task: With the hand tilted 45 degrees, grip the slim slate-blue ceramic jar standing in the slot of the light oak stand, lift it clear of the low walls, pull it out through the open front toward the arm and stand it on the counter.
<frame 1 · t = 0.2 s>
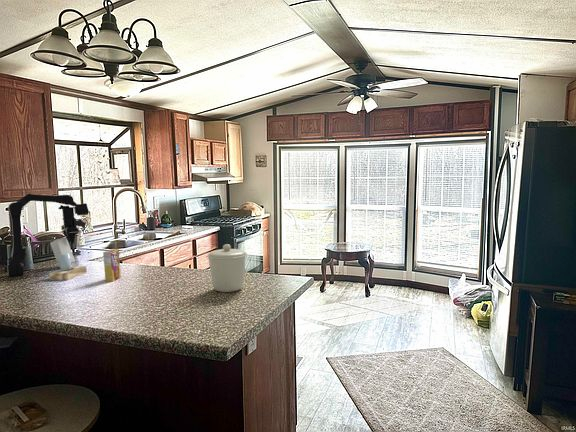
hand: (71, 242, 233), 15 cm above the countertop, tool pointing down, fingers open, 9 cm apart
skincare box: (66, 265, 237), point 1 cm above the countertop
slate jar: (65, 265, 214), in the oak stand
oak stand: (66, 276, 215), on the countertop
canister: (228, 289, 185), on the countertop
candy box: (113, 279, 206), on the countertop
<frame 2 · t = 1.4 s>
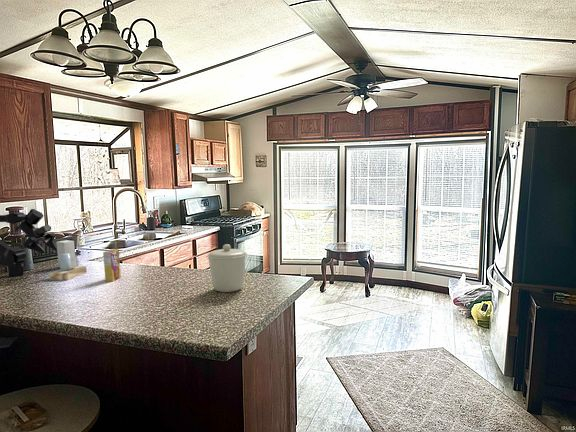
hand: (50, 251, 215), 13 cm above the countertop, tool tilted 45°, fingers open, 9 cm apart
skincare box: (67, 267, 237), on the countertop
everything else where it was.
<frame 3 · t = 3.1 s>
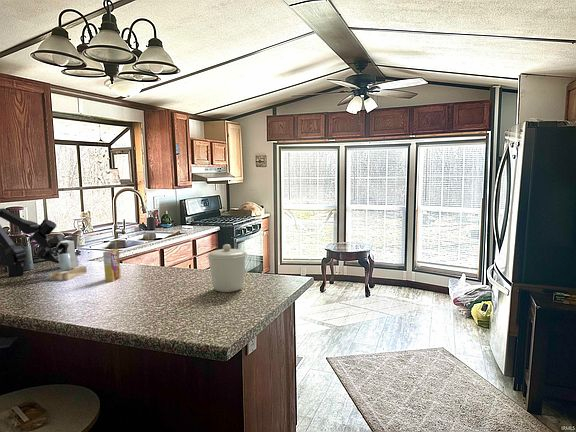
hand: (64, 261, 214), 8 cm above the countertop, tool tilted 45°, fingers open, 9 cm apart
nothing on the countertop moved.
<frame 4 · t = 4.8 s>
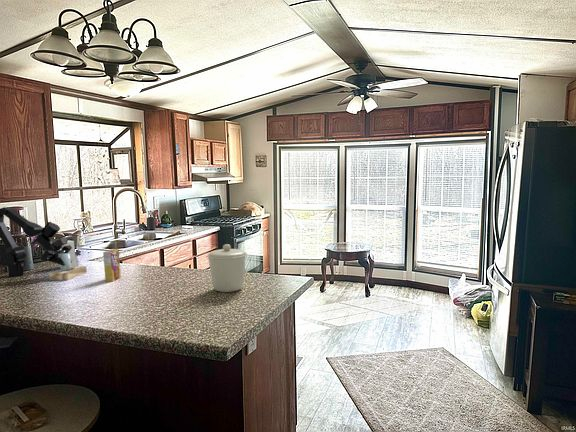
hand: (67, 264, 214), 7 cm above the countertop, tool tilted 45°, fingers closed on slate jar, 5 cm apart
slate jar: (65, 265, 214), in the oak stand, touching gripper
everything else where it was.
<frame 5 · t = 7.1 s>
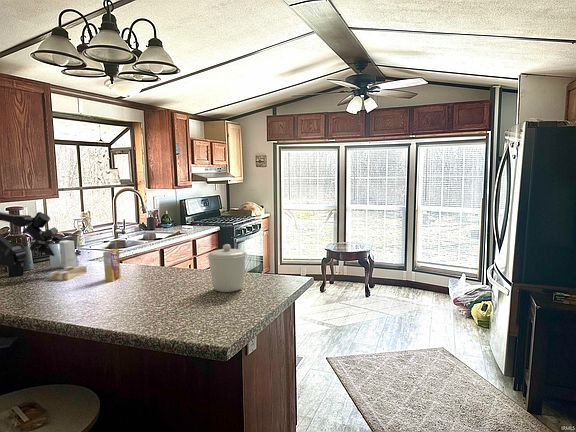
hand: (57, 254, 214), 12 cm above the countertop, tool tilted 45°, fingers closed on slate jar, 5 cm apart
slate jar: (55, 255, 214), point 11 cm above the countertop, touching gripper
everything else where it was.
when the fingers open (8 cm above the countertop, at t = 9.4 s): slate jar drops 1 cm, on the countertop.
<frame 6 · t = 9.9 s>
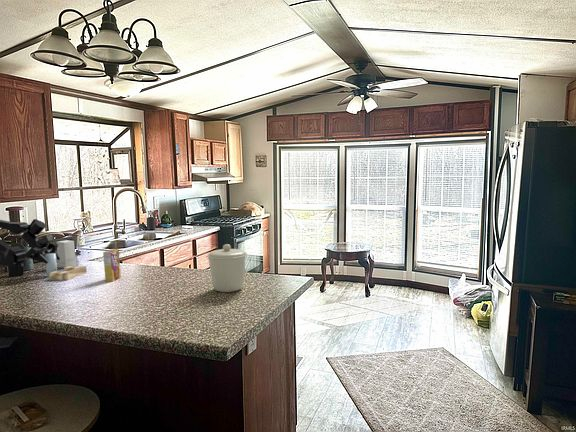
hand: (53, 261, 215), 8 cm above the countertop, tool tilted 45°, fingers open, 9 cm apart
slate jar: (51, 265, 215), on the countertop
everything else where it was.
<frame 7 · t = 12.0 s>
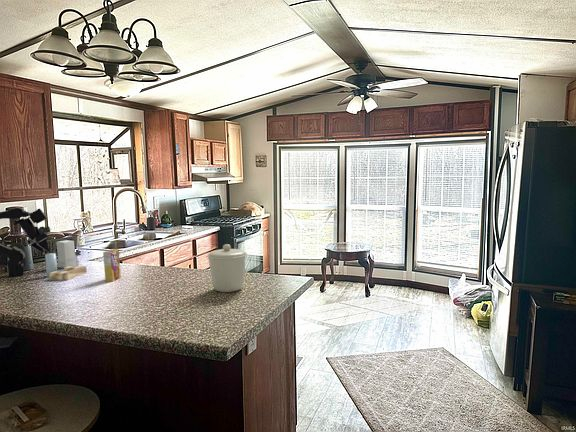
hand: (45, 251, 223), 12 cm above the countertop, tool tilted 25°, fingers open, 9 cm apart
nothing on the countertop moved.
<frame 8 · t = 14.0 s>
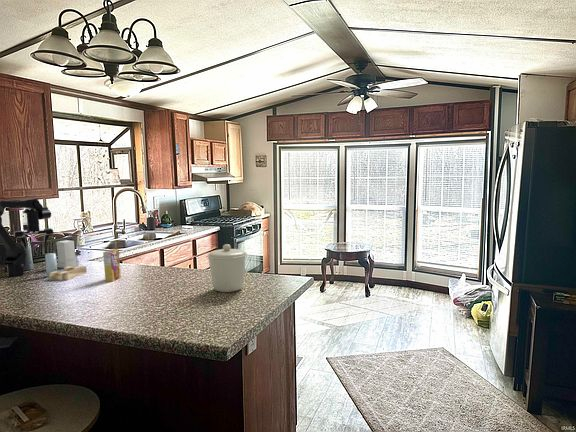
hand: (35, 247, 230), 13 cm above the countertop, tool pointing down, fingers open, 9 cm apart
nothing on the countertop moved.
at the end: slate jar 0.5 cm from the target spot on the countertop beside the oak stand, on the countertop; slate jar tilted 0°; the gripper is holding nothing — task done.
